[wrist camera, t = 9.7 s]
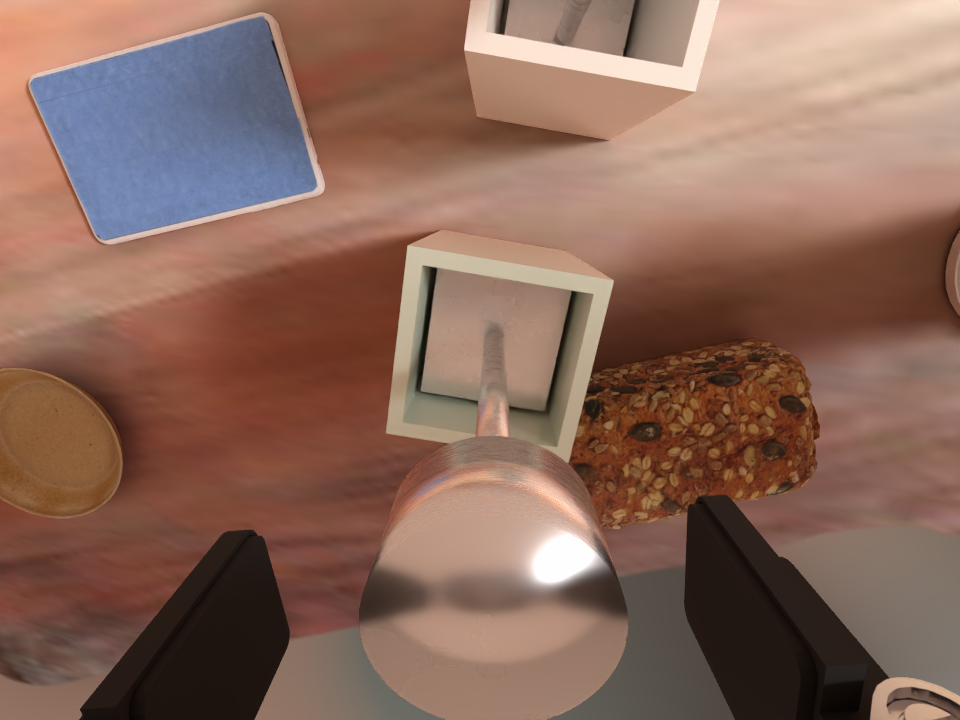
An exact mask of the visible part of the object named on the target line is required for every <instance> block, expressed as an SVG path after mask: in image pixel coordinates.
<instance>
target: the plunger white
mask: <svg viewBox="0 0 960 720" xmlns="http://www.w3.org/2000/svg"><path fill="white" fill-rule="evenodd" d="M634 2H635V0H510V1H509V7H508V14H507V20H506V27H505V33H504V35H506V36H512V37H517V38H523V39H528V40H534V41H539V42H545V43H550V44H556V45H561V46H567V47H572V48H578V49H583V50H589V51H595V52H600V53H606V54H611V55H617V56H623V52H624V47H625V43H626V38H627V34H628V29H629V25H630V20H631V16H632V11H633V7H634Z"/></svg>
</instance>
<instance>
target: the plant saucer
mask: <svg viewBox="0 0 960 720" xmlns="http://www.w3.org/2000/svg"><path fill="white" fill-rule="evenodd" d="M122 470H123V448H122V442H121V438H120V435H119V433H118V430H117V428H116V426H115V424H114V422H113V420H112V418H111V417H110V416H109V414H108V413H107V411H106V410H105V409H104V408H103V407H102V405H101V404H100V403H99V402H98V401H97V400H95V399H94V398H93V397H92V396H91V395H89V394H88V393H87V392H86V391H84V390H83V389H81V388H79V387H78V386H76V385H74V384H73V383H71V382H69V381H67V380H64V379H62V378H60V377H57V376H54V375H52V374H49V373H45V372H42V371H38V370H33V369H27V368H1V369H0V499H2V500H3V501H5V502H7V503H8V504H10V505H12V506H14V507H16V508H18V509H21V510H23V511H25V512H28V513H31V514H34V515H38V516H44V517H49V518H73V517H79V516H83V515H86V514H89V513H91V512H93V511H95V510H97V509H99V508H100V507H102V506H103V505H104V504H105V503H107V502H108V501H109V500H110V499H111V497H112V496H113V495H114V493H115V491H116V490H117V488H118V486H119V483H120V480H121V476H122Z"/></svg>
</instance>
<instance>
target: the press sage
mask: <svg viewBox="0 0 960 720" xmlns="http://www.w3.org/2000/svg"><path fill="white" fill-rule="evenodd" d="M437 268H443V269H449V270H455V271H460V272H466V273H472V274H478V275H484V276H490V277H496V278H502V279H508V280H514V281H519V282H525V283H531V284H537V285H543V286H549V287H555V288H561V289H567V290H572V291H571V296H570V300H569V305H568V309H567V313H566V318H565V322H564V327H563V331H562V336H561V340H560V345H559V349H558V354H557V358H556V363H555V367H554V371H553V376H552V380H551V385H550V389H549V394H548V398H547V403H546V407H545V411H538V410H532V409H526V408H520V407H514V406H509V419H510V433H511V437H513V438H517V439H522V440H526V441H529V442H531V443H534V444H537V445H539V446H541V447H543V448H545V449H547V450H549V451H551V452H553V453H554V454H556V455H557V456H559V457H560V458H562V459H563V460H564V461H565V462H567V463H569V459H570V455H571V451H572V447H573V443H574V439H575V435H576V431H577V427H578V423H579V419H580V415H581V411H582V407H583V403H584V399H585V395H586V391H587V387H588V383H589V379H590V375H591V371H592V367H593V363H594V359H595V355H596V351H597V347H598V343H599V339H600V335H601V331H602V327H603V323H604V319H605V315H606V311H607V307H608V303H609V299H610V295H611V291H612V287H613V283H614V280H612V279H611V278H609V277H608V276H606V275H604V274H603V273H601V272H600V271H598V270H596V269H595V268H593V267H592V266H590V265H588V264H587V263H585V262H583V261H582V260H580V259H579V258H577V257H575V256H574V255H572V254H571V253H569V252H567V251H564V250H558V249H552V248H547V247H541V246H535V245H529V244H523V243H517V242H512V241H506V240H500V239H494V238H488V237H482V236H477V235H471V234H465V233H459V232H453V231H447V230H440V231H438V232H436V233H434V234H431V235H429V236H427V237H425V238H423V239H420V240H418V241H416V242H414V243H412V244H409V245H408V246H407V255H406V264H405V272H404V281H403V290H402V298H401V307H400V316H399V324H398V333H397V342H396V350H395V359H394V368H393V376H392V385H391V394H390V402H389V411H388V420H387V428H386V433H387V434H393V435H399V436H405V437H411V438H418V439H424V440H430V441H436V442H443V443H449V444H450V443H453V442H455V441H459V440H463V439H467V438H472V437H476V426H477V413H478V401H477V400H471V399H465V398H459V397H453V396H447V395H440V394H434V393H428V392H422V391H421V386H422V378H423V371H424V364H425V356H426V349H427V342H428V334H429V327H430V320H431V312H432V305H433V298H434V290H435V283H436V275H437Z"/></svg>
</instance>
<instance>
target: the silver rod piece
mask: <svg viewBox="0 0 960 720" xmlns="http://www.w3.org/2000/svg"><path fill="white" fill-rule="evenodd" d="M571 291H572V290H567V289H561V288H555V287H549V286H543V285H537V284H531V283H525V282H519V281H514V280H508V279H502V278H496V277H490V276H484V275H478V274H472V273H466V272H460V271H455V270H449V269H443V268H437V275H436V283H435V290H434V298H433V305H432V312H431V320H430V327H429V334H428V342H427V349H426V356H425V364H424V371H423V378H422V386H421V391H422V392H428V393H434V394H440V395H447V396H453V397H459V398H465V399H471V400H477V401H478V413H477V426H476V437H472V438H467V439H463V440H459V441H455V442H453V443H450V444H448V445H445V446H443V447H441V448H439V449H437V450H436V451H434V452H432V453H430V454H429V455H428V456H426V457H425V458H424V459H422V460H421V461H420V462H419V463H418V464H417V465H416V466H415V467H414V468H413V469H412V470H411V471H410V472H409V474H408V475H407V476H406V478H405V479H404V480H403V482H402V484H401V486H400V488H399V489H398V492H397V495H396V497H395V500H394V503H393V506H392V509H391V512H390V515H389V518H388V521H387V524H386V527H385V529H384V532H383V535H382V538H381V541H380V544H379V547H378V550H377V553H376V556H375V559H374V562H373V565H372V568H371V571H370V574H369V577H368V580H367V583H366V586H365V588H364V591H363V594H362V598H361V603H360V608H359V629H360V635H361V640H362V643H363V646H364V650H365V652H366V654H367V656H368V658H369V660H370V662H371V664H372V666H373V667H374V668H375V670H376V672H377V673H378V674H379V676H380V677H381V678H382V679H383V680H384V681H385V682H386V684H387V685H388V686H389V687H390V688H392V689H393V690H394V691H395V692H396V693H397V694H398V695H399V696H401V697H402V698H404V699H405V700H407V701H408V702H410V703H411V704H413V705H414V706H416V707H418V708H420V709H422V710H424V711H426V712H428V713H430V714H433V715H435V716H438V717H440V718H443V719H447V720H545V719H549V718H552V717H554V716H557V715H559V714H562V713H564V712H566V711H568V710H570V709H571V708H574V707H575V706H577V705H579V704H580V703H581V702H583V701H584V700H586V699H587V698H589V697H590V696H591V695H593V694H594V693H595V692H596V691H597V690H598V689H599V688H600V687H601V686H602V685H603V684H604V683H605V682H606V680H607V679H608V678H609V677H610V676H611V674H612V673H613V671H614V669H615V668H616V666H617V665H618V663H619V661H620V658H621V656H622V653H623V651H624V648H625V644H626V640H627V634H628V614H627V607H626V603H625V599H624V596H623V593H622V590H621V586H620V583H619V580H618V577H617V574H616V571H615V568H614V565H613V562H612V559H611V556H610V553H609V550H608V547H607V544H606V541H605V538H604V535H603V532H602V529H601V526H600V523H599V520H598V517H597V514H596V511H595V508H594V505H593V502H592V499H591V497H590V494H589V492H588V490H587V488H586V486H585V484H584V483H583V481H582V480H581V478H580V477H579V475H578V474H577V473H576V472H575V471H574V470H573V468H572V467H571V466H570V465H568V464H567V463H566V462H565V461H564V460H563V459H562V458H560V457H559V456H557V455H556V454H554V453H553V452H551V451H549V450H547V449H545V448H543V447H541V446H539V445H537V444H534V443H531V442H529V441H526V440H522V439H517V438H513V437H511V433H510V419H509V406H514V407H520V408H526V409H532V410H538V411H545V407H546V403H547V398H548V394H549V389H550V385H551V380H552V376H553V371H554V367H555V363H556V358H557V354H558V349H559V345H560V340H561V336H562V331H563V327H564V322H565V318H566V313H567V309H568V305H569V300H570V296H571Z"/></svg>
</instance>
